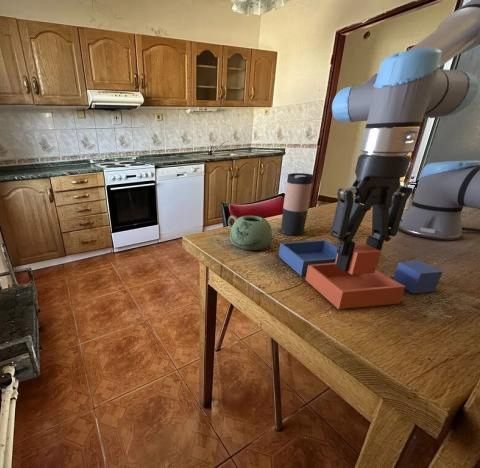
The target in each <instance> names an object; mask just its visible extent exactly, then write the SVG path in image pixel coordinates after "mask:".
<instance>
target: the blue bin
mask: <svg viewBox="0 0 480 468" xmlns="http://www.w3.org/2000/svg"><path fill="white" fill-rule="evenodd" d="M337 247H338V246H337V245H334V244H332V243H331V242H329V241H327V240H326V239H319V240H305V241H291V242H290V241H289V242H280V243H279V250H278V257H279V258H280V259H281V260H282V261H284V262H285V264H287V266H289V267H290V268H292V270H294V271H295V273H297V274H298V275H299V276H300V277H306V274H307V269H308V265H314V264H326V263H335V261H336V257H337Z"/></svg>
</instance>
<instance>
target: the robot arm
mask: <svg viewBox="0 0 480 468" xmlns="http://www.w3.org/2000/svg"><path fill="white" fill-rule="evenodd" d="M479 45H480V0H469V1H468V2H466V3H465V4H463V5H461V6H460V7H459V8H457V9H456V10H454V11H453V12H451V13H450V14H449V15H448V16H446V17H445V18H444V19H442V21H441V22H440V23H439V25H438V27H437V28H436V29H435V30H434V31H433V32H432V33H430V34H429V35H427V36H426V37H425V38H423V39H421V40H420V41H419V42H418V43H416V44H415V45H414V46H412V47H411V48H409V49H408V50H404V51H401V52H397V53H394V54H391V55H389V56H387V57H386V58H385V59H384V60H382V61H381V63H380V66H379V69H378V71H377V72H376V73H375V74H373V75H372V76H371V77H370V78H369V77H368V79H366V80H365V81H363V82H362V83H360V84H357V85H356V84H353V85H350V86H347V87H344V88H342V89H340V90H339V91H338V92H337V93H336V94H335V96H334V98H333V100H332V103H331V112H332V117H333V119H335V120H336V121H337V122H342V123H348V122H350V123H355V122H366V124H365V128H364V131H363V135H362V140H361V142H360V143H361V144H360V148H359V151H360V152H361V153H362V154H360V155H358V157H357V159H356V160H357V162H356V165H355V169H354V173H355V176H356V178H355V180H354V182H353V183H352V185H351V186H349V187H347V188H338V189H337V191H336V192H337V193H336V194H337V204H336V208H335V212H334V213H335V214H334V217H333V221H332V226H331V229H330V235H331V236H332V237H333V238H335V239H336V240H337V239H338V242H337V246H336V247H337V253H338V258H337V262H336V266H337V267H339V268H340V269H342V270H343V271H345V272H347V271H348V270H349V266H350V262H351V258H352V254H353V251H354V247H355V242H356V241H353V239H354V238H355V236H356V234H357V232H358V230H359V228H360V226H361V224H362V222H363V220H364V218H365V216H366V214H367V212H369V211H371V209H372V213H371V214H372V217H371V220H372V221H371V235H367V236H366V240H365V244H367V245H369V246H371V247H373V248H375V249H378V250H380V251H381V252H382V249H383V246H384V244H385V243H384V242H390V241H391V239H392V237H396V236H397V234H398V231H401V232H403V233H405V234H408V235H411V236H414V237H417V238H423V239H429V240H437V241H456V240H459V239H460V238H461V236H462V234H463V231H467V232H475V233H478V232H479V233H480V228H475V227H467V226H466V227H465V226H462V211H463V208H464V207H467V208H472V209H477V210H480V160H473V159H472V160H454V161H453V160H450V161H437V162H436V161H435V162H430V163H427V164H426V165H425V166H424V167H423V169H422V171H421V174H420V176H419V177H418V178H419V179H418V183H417V186H416V189H415V193H414V196H413V199H412V202H411V205H410V207H409V208H408V210H407V211H406V212H405V208H406V204H407V201H408V199H409V198H410V196H411V194H413V191H414V188H413V187H410V186H405V185H401V178H405V176H406V175H407V174H408V170H409V167H410V164H411V161H412V157H411V155H409V153H412V152H413V151H414V149H415V145H416V142H417V139H418V136H419V132H420V129H421V127H422V123H423V120H424V119H425V118H430V119H436V118H437V119H441V118H444V117H450V116H453V115H456V114H458V113H460V112H461V111H463V110H464V109H466V108H467V107H468V106H469V105H471V104H472V102H473V101H474V100H475V98H476V97H477V95H478V93H479V89H480V82H479V79H478V78H477V76H476V75H474V74H473V73H471V72H468V71H464V70H463V69H459V68H456V69H446V68H445V69H443V68H442V67H443V66H444V65H445V64H447V63H448V62H450V60H452V59H453V58H455V57H456V56H457V55H462V54H464V53H467V52H469V51H471V50H472V49H474V48H476V47H477V46H479ZM404 212H405V214H404Z"/></svg>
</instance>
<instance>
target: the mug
mask: <svg viewBox="0 0 480 468" xmlns="http://www.w3.org/2000/svg"><path fill="white" fill-rule="evenodd" d="M232 219H233V221H234V222H233V224H232ZM227 226H228V228H229V229H230V233H229V239H230V242H231V243H232V245H234V246H235V247H237V248H238V249H242V250H246V251H260V250H264V249H266V248H268V247H270V245H271V243H272V240H273V229H272V226H271V224H270V222H269V221H268V220H267V219H266V218H265V217H261V216H258V215H243V216H240V217H237V216H235V215H230V216H229V217H228V219H227Z"/></svg>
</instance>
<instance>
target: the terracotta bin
mask: <svg viewBox="0 0 480 468" xmlns="http://www.w3.org/2000/svg"><path fill="white" fill-rule="evenodd" d="M393 279H394V278H391V277H390V276H388V275H386V274H385V273H383V272H381V271H380V270H378V269H376V270H375V273H369V274H357V275H351V274H350V273H348V272H345V271H343V270H342V269H340V268H339V267H337V266H336V264H335V263H326V264H314V265H308V269H307V274H306V276H305V281H306V282H307V283H308V284H309V285H311V286H312V287H313V288H314V289H315V290H316V291H317V292H318V293H319V294H320V295H322V296H323V297H324V298H325V299H327V301H329V302H330V303H331V304H332V305H333V306H334V307H335V308H336V309H337V310H345V309H354V308H355V309H356V308H366V307H377V306H378V307H379V306H388V305H397V304H400V303H401V300H402V298H403V294H404V292H405V290H406V289H405V286H404V285H402V284H400V283H398V282H397V281H395V280H393Z"/></svg>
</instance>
